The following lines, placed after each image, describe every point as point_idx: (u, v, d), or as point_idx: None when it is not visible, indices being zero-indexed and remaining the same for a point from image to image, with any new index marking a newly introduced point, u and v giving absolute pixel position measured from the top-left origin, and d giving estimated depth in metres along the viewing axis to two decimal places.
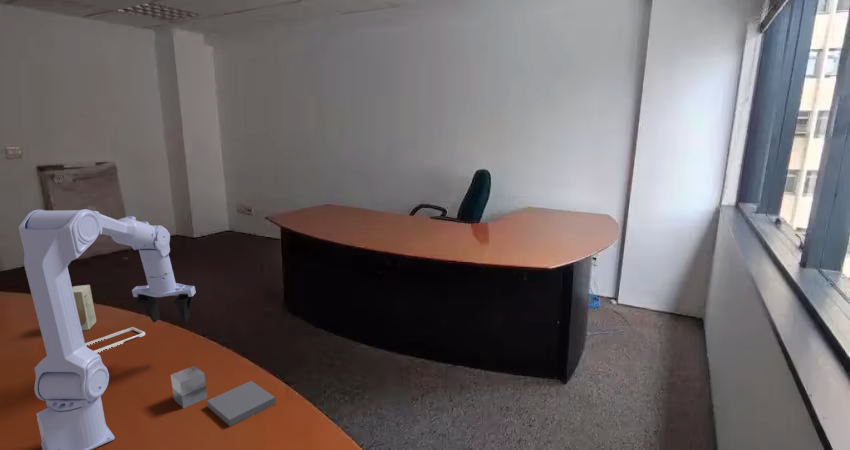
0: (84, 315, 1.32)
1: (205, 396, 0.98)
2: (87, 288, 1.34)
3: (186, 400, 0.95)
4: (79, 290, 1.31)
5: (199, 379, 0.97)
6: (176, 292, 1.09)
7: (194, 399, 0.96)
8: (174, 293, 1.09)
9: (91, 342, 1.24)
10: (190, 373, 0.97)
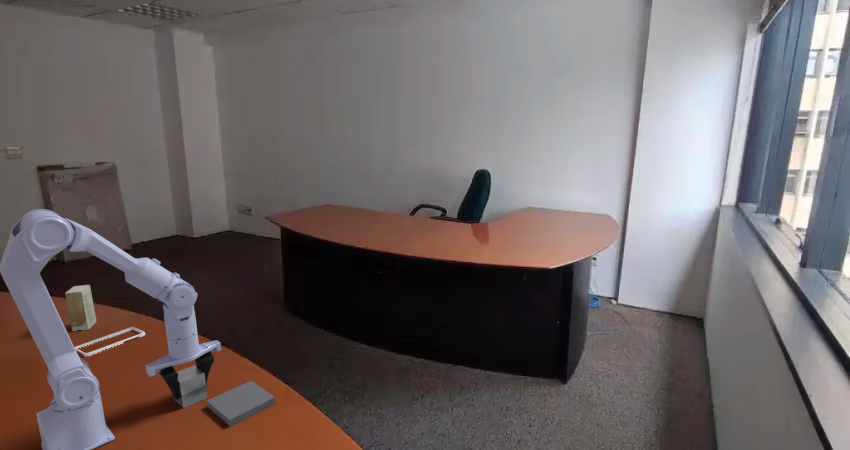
0: (84, 315, 1.32)
1: (205, 396, 0.98)
2: (87, 288, 1.34)
3: (186, 400, 0.95)
4: (79, 290, 1.31)
5: (199, 379, 0.97)
6: (207, 349, 0.98)
7: (194, 399, 0.96)
8: (206, 351, 0.98)
9: (91, 342, 1.24)
10: (190, 373, 0.97)
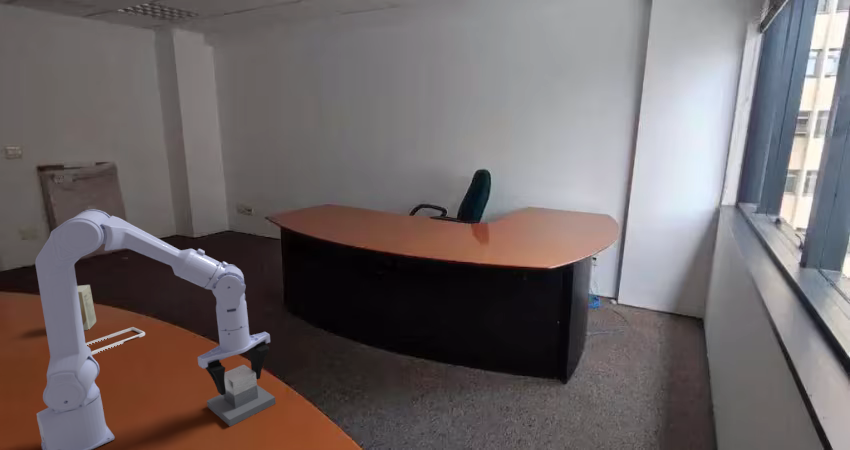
0: (84, 315, 1.32)
1: (256, 396, 0.95)
2: (87, 288, 1.34)
3: (238, 400, 0.92)
4: (79, 290, 1.31)
5: (250, 378, 0.94)
6: (258, 341, 0.95)
7: (245, 399, 0.94)
8: (256, 343, 0.94)
9: (91, 342, 1.24)
10: (241, 372, 0.94)
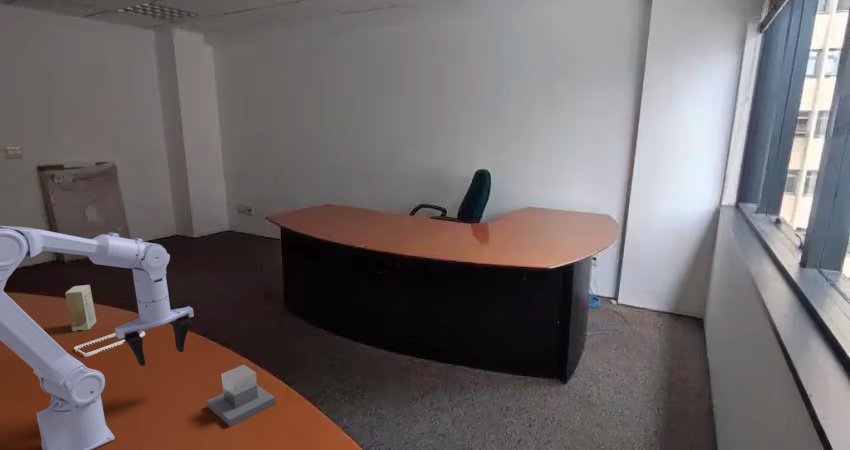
0: (84, 315, 1.32)
1: (256, 396, 0.95)
2: (87, 288, 1.34)
3: (238, 400, 0.92)
4: (79, 290, 1.31)
5: (250, 378, 0.94)
6: (179, 314, 0.97)
7: (245, 399, 0.94)
8: (177, 316, 0.97)
9: (91, 342, 1.24)
10: (241, 372, 0.94)
